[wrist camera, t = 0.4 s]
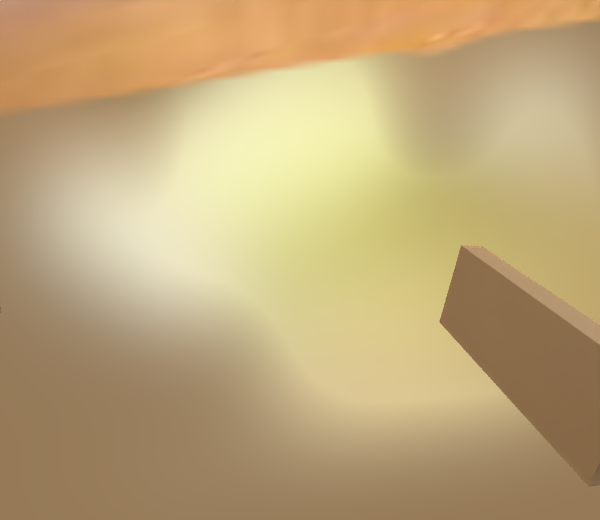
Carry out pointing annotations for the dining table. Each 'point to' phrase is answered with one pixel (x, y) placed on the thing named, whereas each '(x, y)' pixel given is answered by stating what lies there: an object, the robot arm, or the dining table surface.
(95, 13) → the dining table surface
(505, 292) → the robot arm
